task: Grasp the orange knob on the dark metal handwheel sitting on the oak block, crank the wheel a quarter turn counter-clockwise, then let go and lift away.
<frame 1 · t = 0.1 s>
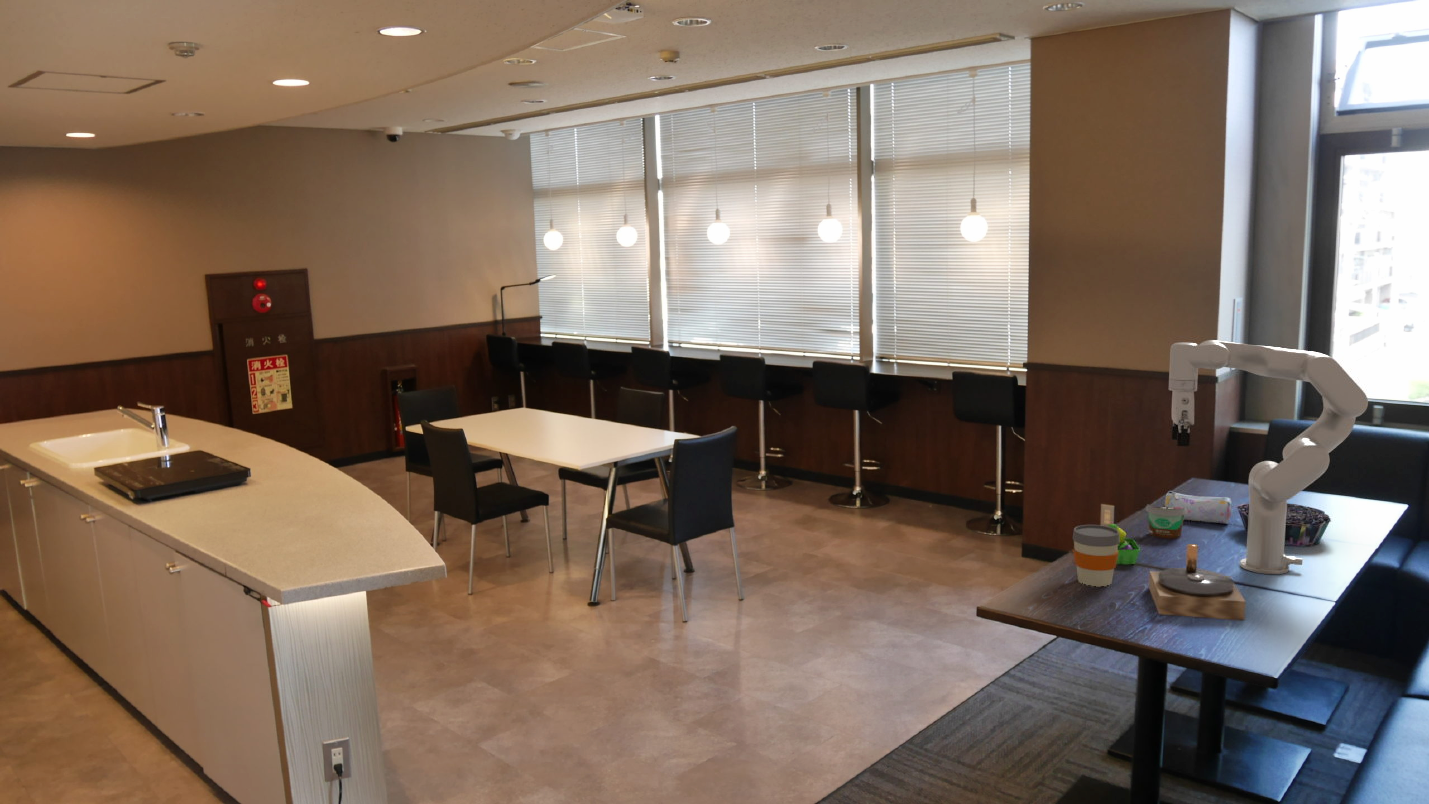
hand: (1180, 442, 291), 37 cm above the table, tool pointing down, fingers open, 9 cm apart
decorative bowl: (1283, 537, 319), on the table
pencil case: (1197, 521, 340), on the table
food container: (1165, 537, 322), on the table
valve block: (1194, 603, 263), on the table
reusable coffee cup: (1094, 582, 283), on the table
handwheel: (1196, 568, 262), point 10 cm above the table, hinge at 0.0°
fruit basket: (1120, 560, 301), on the table
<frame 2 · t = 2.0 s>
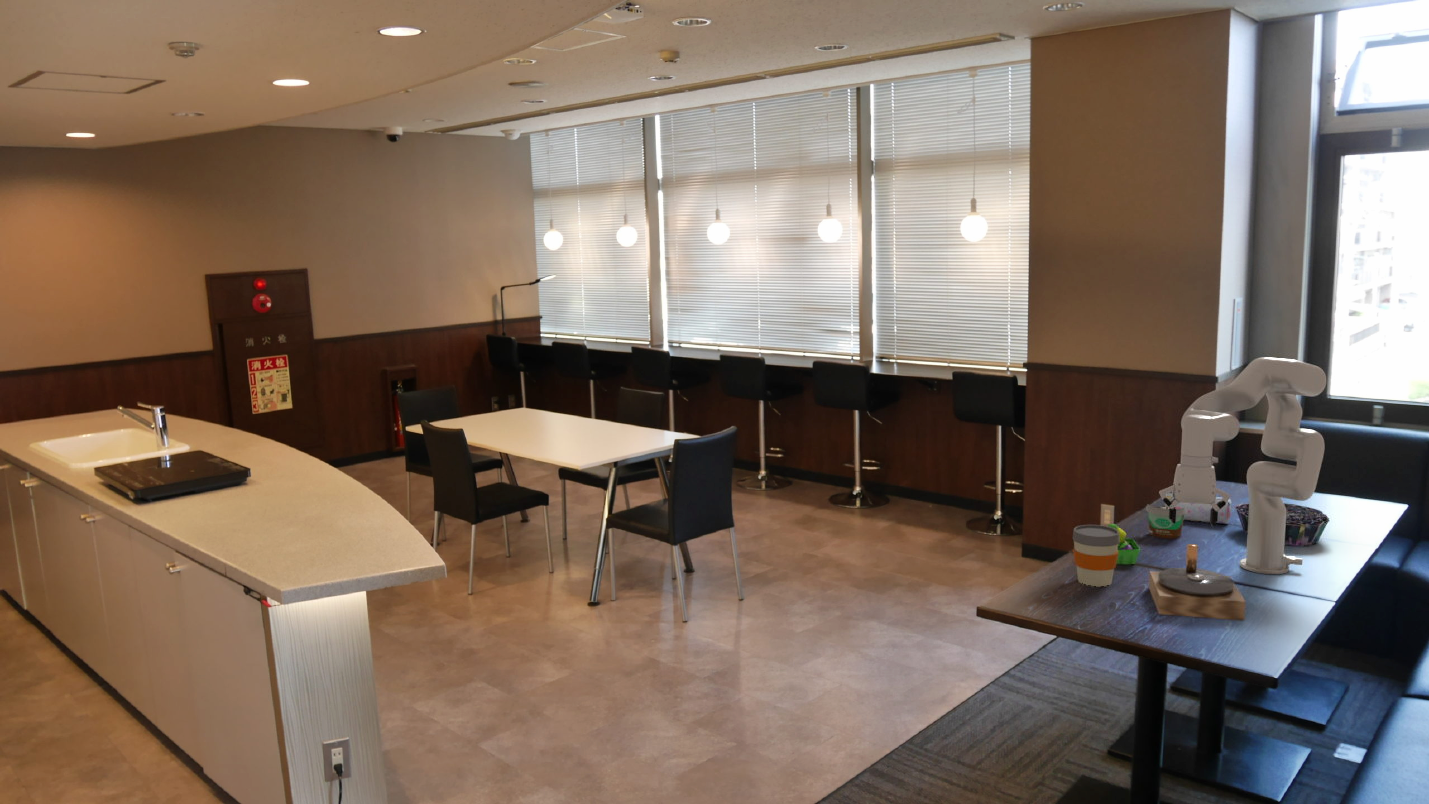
hand: (1192, 523, 267), 20 cm above the table, tool pointing down, fingers open, 9 cm apart
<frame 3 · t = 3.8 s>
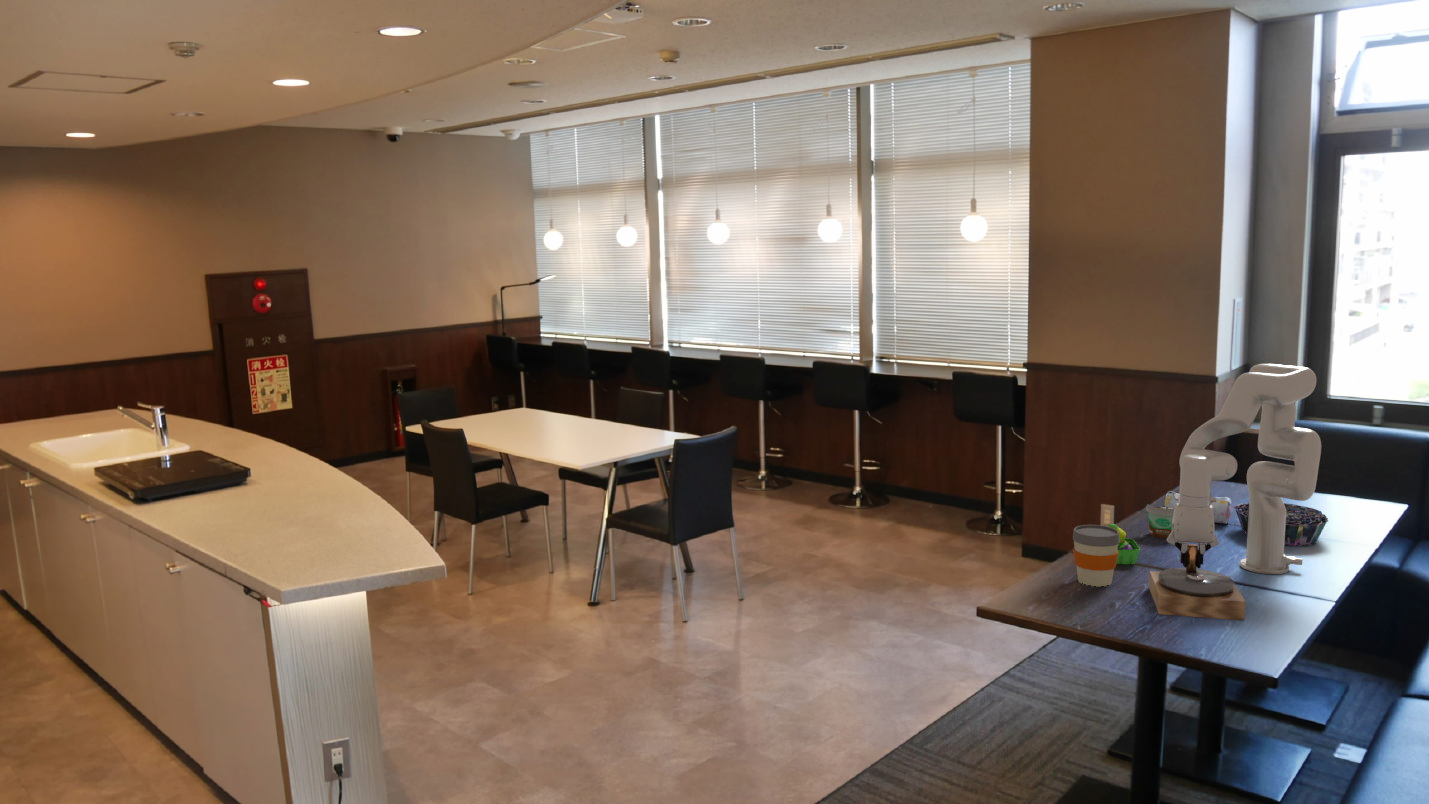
hand: (1191, 565, 269), 8 cm above the table, tool pointing down, fingers closed on handwheel, 2 cm apart
handwheel: (1196, 568, 262), point 10 cm above the table, hinge at 0.0°, touching gripper
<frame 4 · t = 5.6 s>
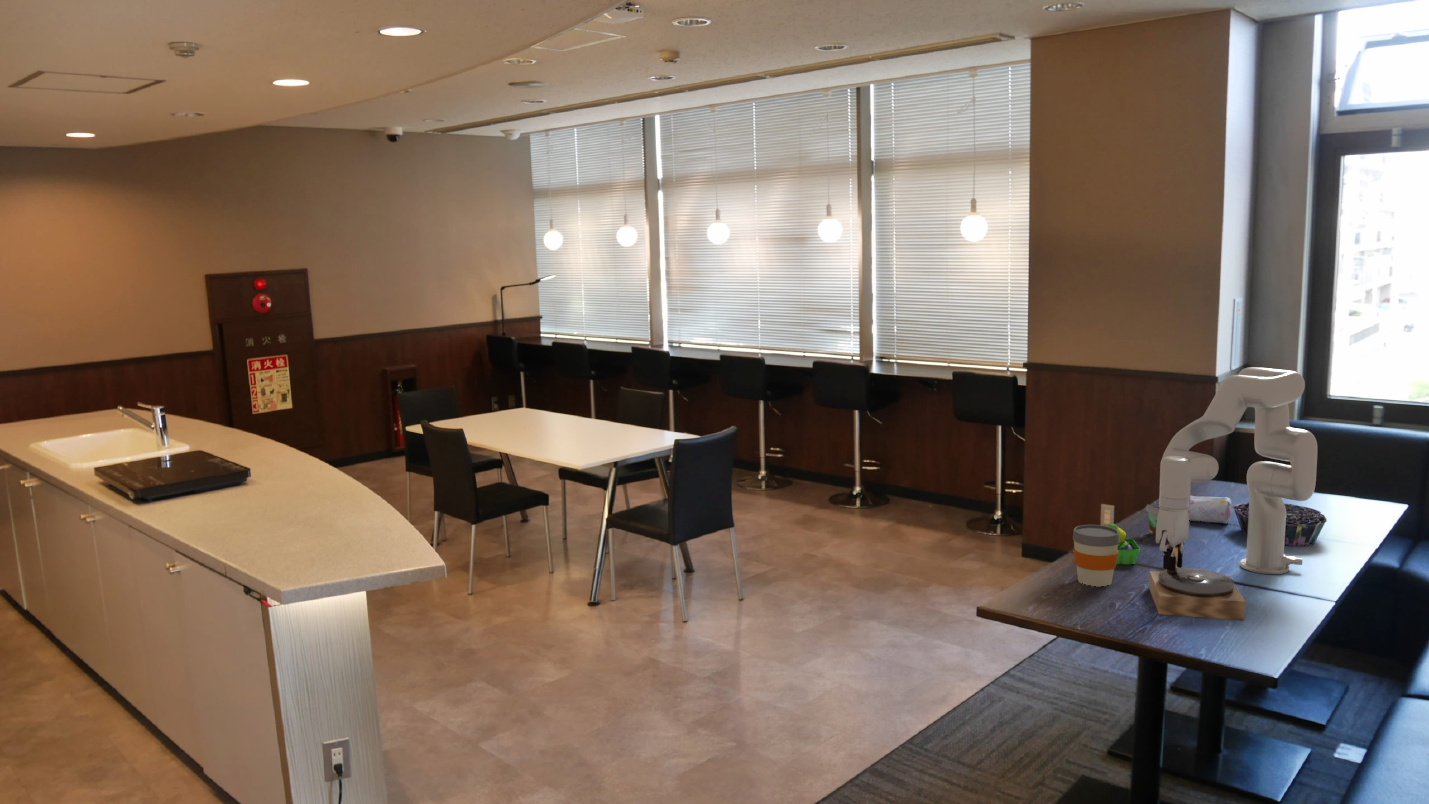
hand: (1172, 567, 268), 8 cm above the table, tool pointing down, fingers closed on handwheel, 2 cm apart
handwheel: (1196, 568, 262), point 10 cm above the table, hinge at 47.8°, touching gripper
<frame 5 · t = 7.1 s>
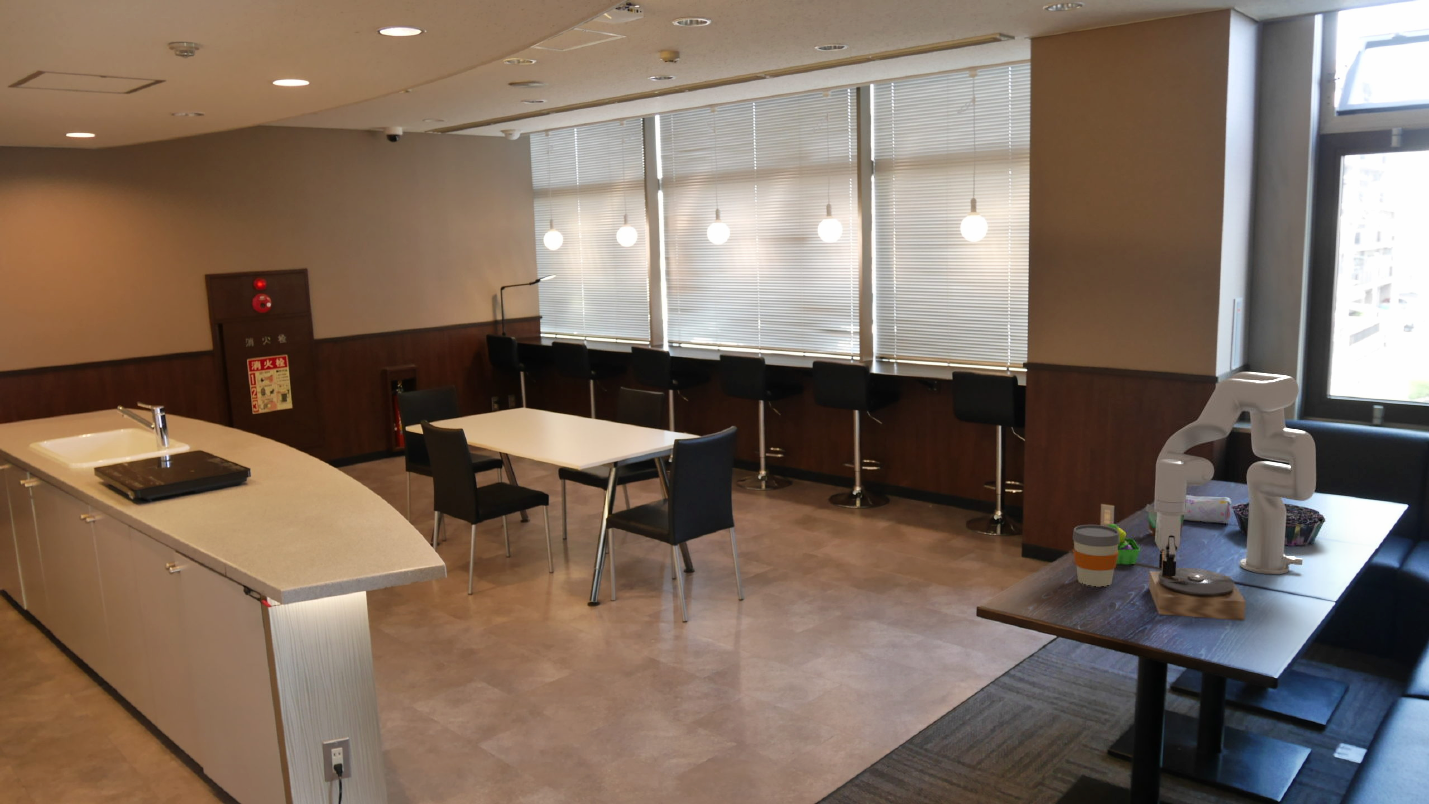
hand: (1167, 571, 264), 8 cm above the table, tool pointing down, fingers open, 5 cm apart
handwheel: (1196, 568, 262), point 10 cm above the table, hinge at 85.9°
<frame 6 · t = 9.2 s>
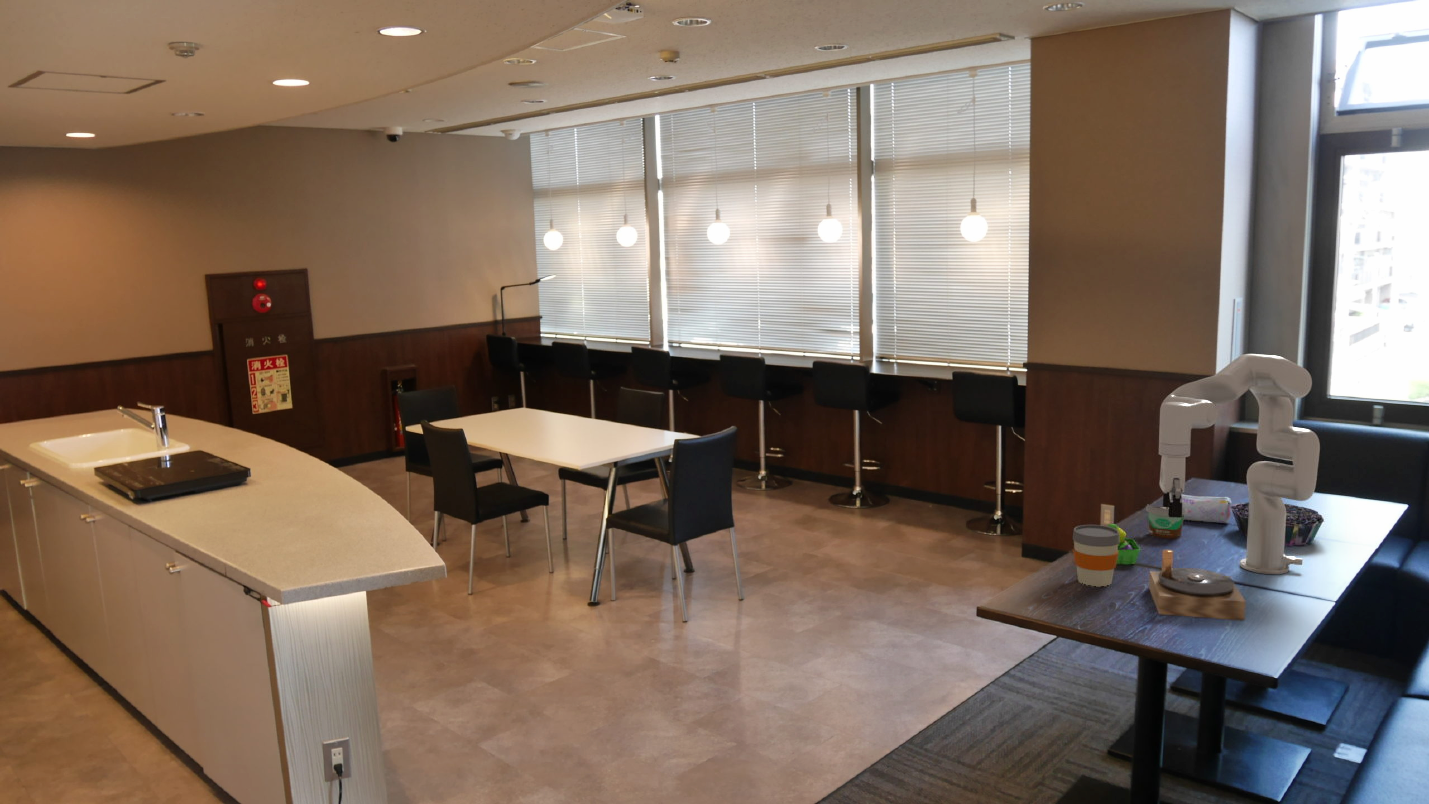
hand: (1172, 512, 263), 24 cm above the table, tool pointing down, fingers open, 9 cm apart
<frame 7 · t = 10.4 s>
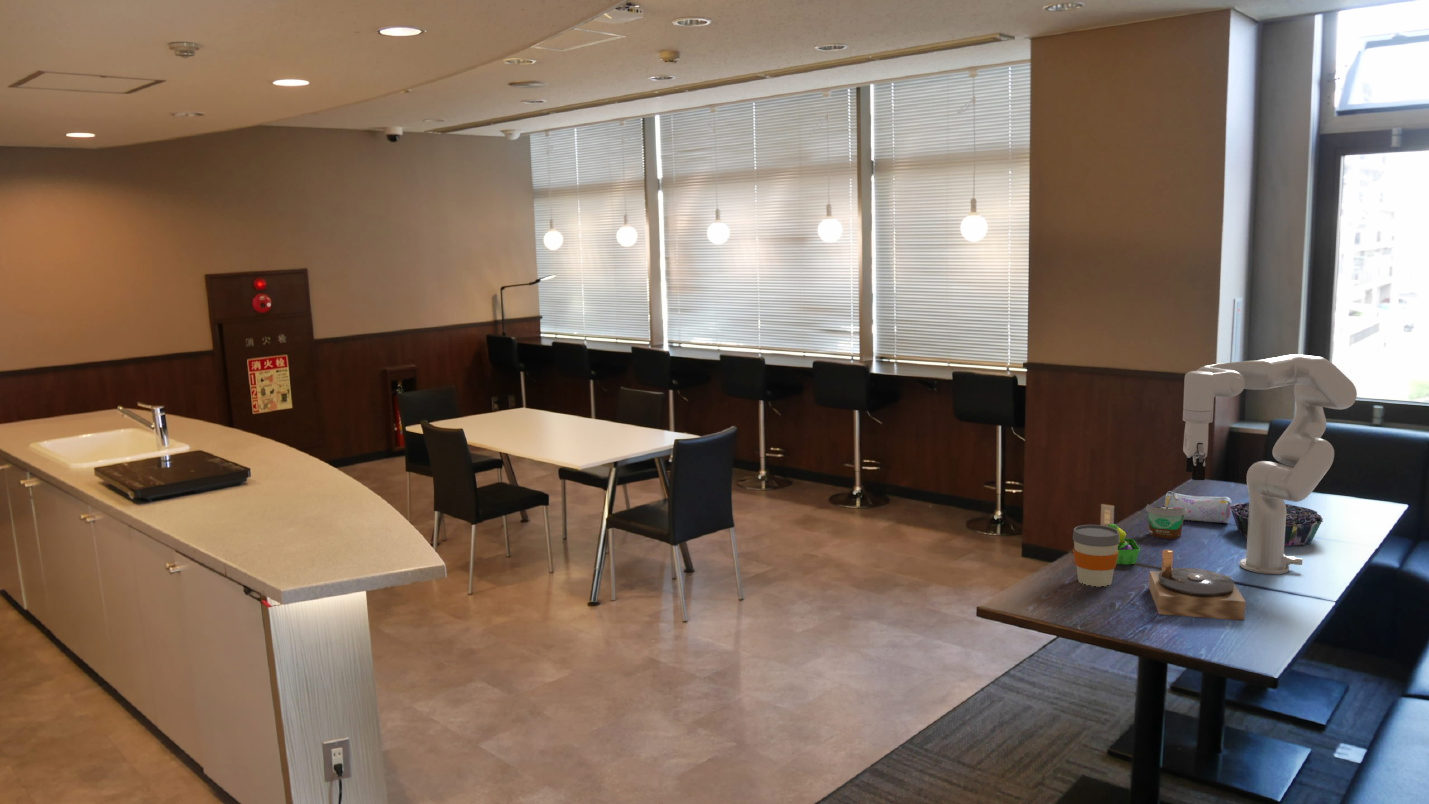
hand: (1195, 475, 277), 30 cm above the table, tool pointing down, fingers open, 9 cm apart
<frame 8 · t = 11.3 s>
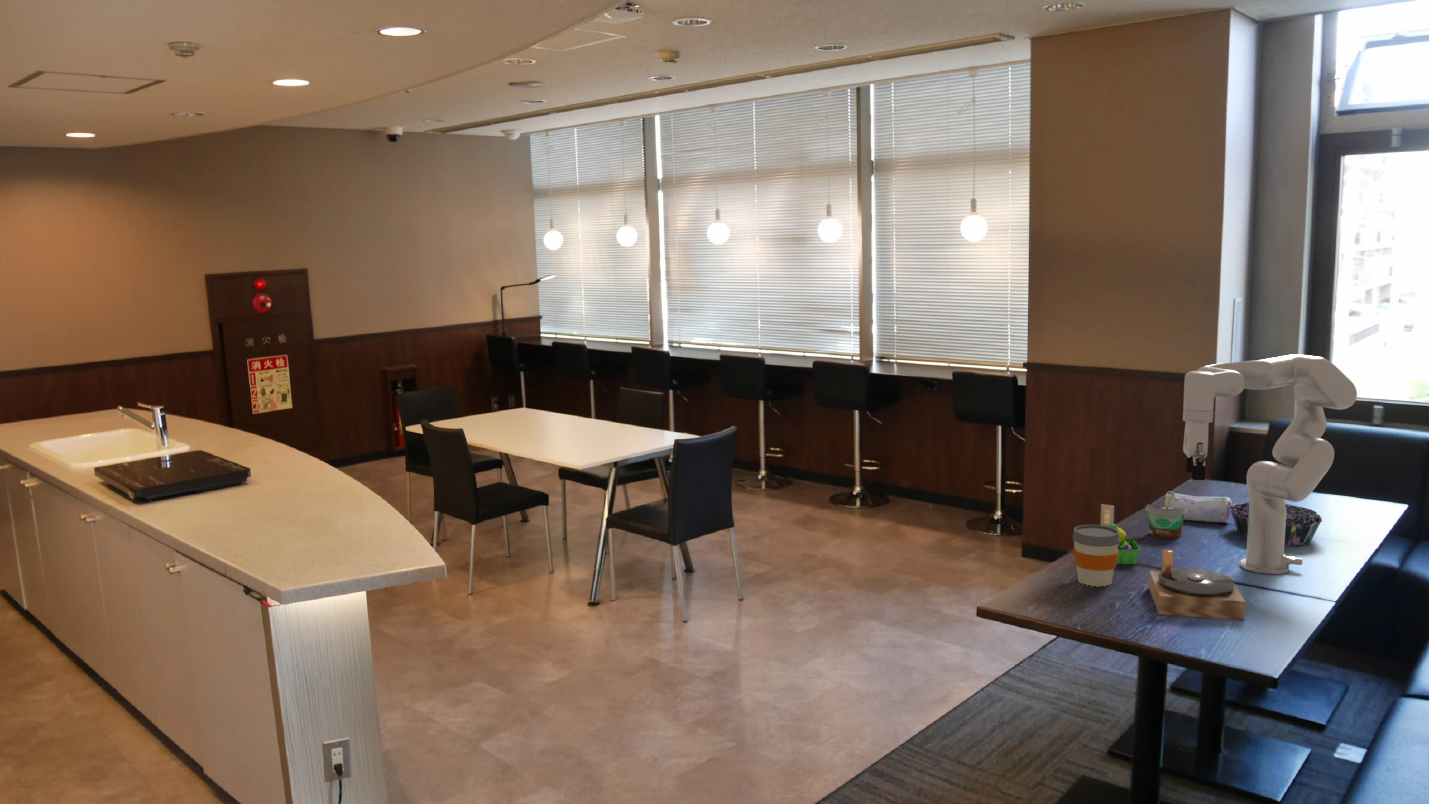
hand: (1195, 475, 277), 30 cm above the table, tool pointing down, fingers open, 9 cm apart
at the end: handwheel at +86° (first picture: +0°); the gripper is holding nothing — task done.
